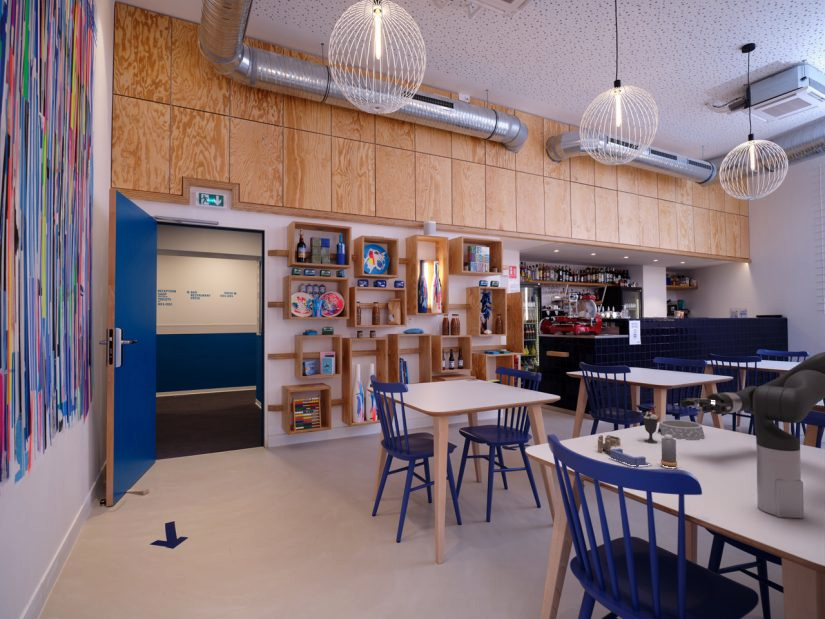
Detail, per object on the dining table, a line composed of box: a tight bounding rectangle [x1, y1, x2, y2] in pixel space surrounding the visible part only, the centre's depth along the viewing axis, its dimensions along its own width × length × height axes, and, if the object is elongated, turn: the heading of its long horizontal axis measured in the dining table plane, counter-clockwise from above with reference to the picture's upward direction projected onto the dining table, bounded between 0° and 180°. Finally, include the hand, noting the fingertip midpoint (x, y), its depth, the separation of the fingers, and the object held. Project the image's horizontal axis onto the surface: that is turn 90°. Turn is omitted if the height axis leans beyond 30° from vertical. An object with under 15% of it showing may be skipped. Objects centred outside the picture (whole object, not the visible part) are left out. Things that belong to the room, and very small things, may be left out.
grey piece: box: [660, 434, 678, 468], centre depth 158 cm, size 5×5×11 cm
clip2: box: [597, 434, 612, 449], centre depth 181 cm, size 4×3×4 cm
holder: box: [609, 447, 651, 468], centre depth 163 cm, size 8×12×3 cm, turn 20°
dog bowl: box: [657, 419, 706, 441], centre depth 201 cm, size 17×18×5 cm
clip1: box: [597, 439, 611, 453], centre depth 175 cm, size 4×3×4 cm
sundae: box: [641, 406, 660, 444], centre depth 190 cm, size 7×7×15 cm
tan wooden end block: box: [604, 434, 621, 448], centre depth 185 cm, size 4×4×3 cm
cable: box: [602, 442, 612, 455], centre depth 178 cm, size 16×4×1 cm, turn 155°
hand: (691, 406), depth 162 cm, fingers open, 8 cm apart
